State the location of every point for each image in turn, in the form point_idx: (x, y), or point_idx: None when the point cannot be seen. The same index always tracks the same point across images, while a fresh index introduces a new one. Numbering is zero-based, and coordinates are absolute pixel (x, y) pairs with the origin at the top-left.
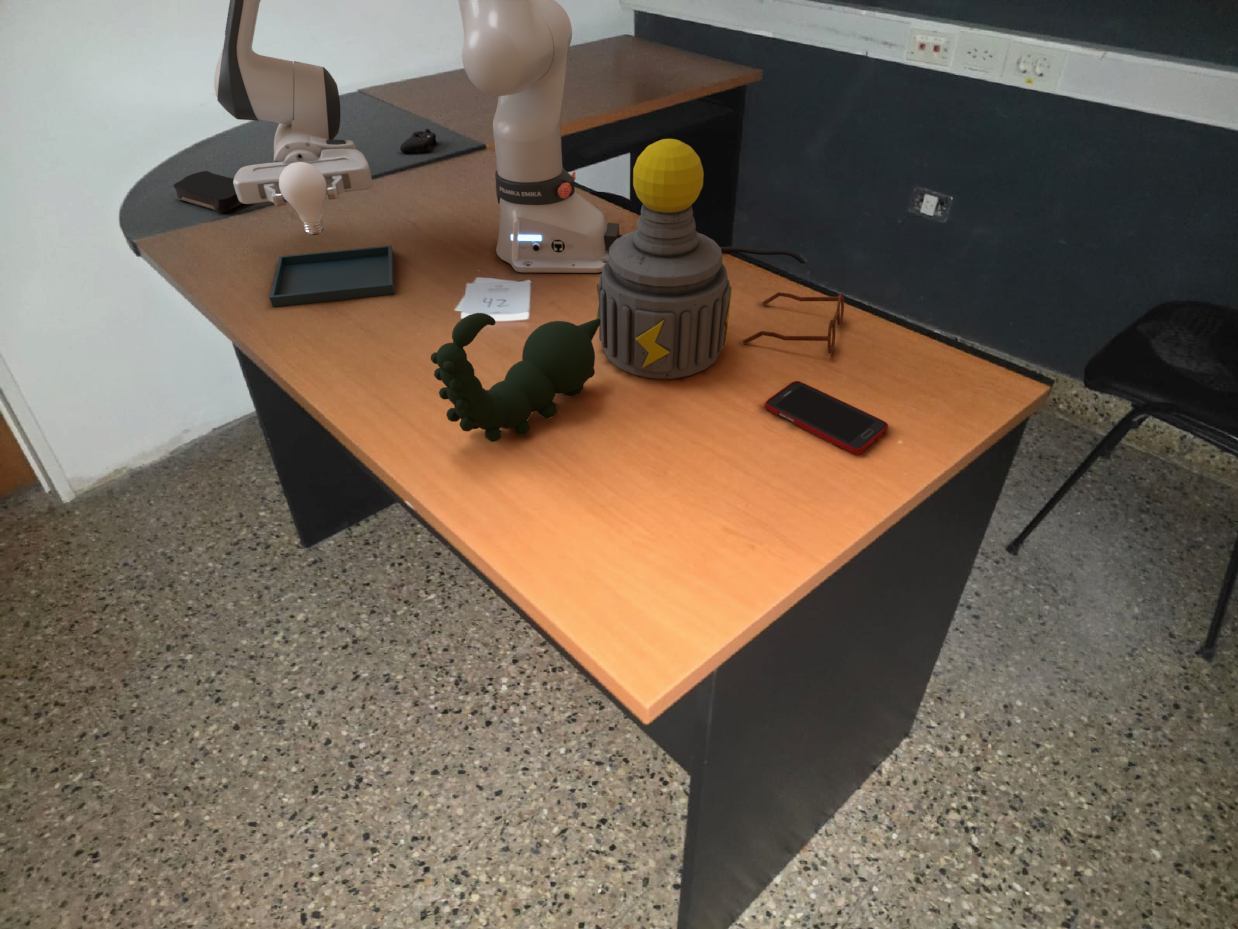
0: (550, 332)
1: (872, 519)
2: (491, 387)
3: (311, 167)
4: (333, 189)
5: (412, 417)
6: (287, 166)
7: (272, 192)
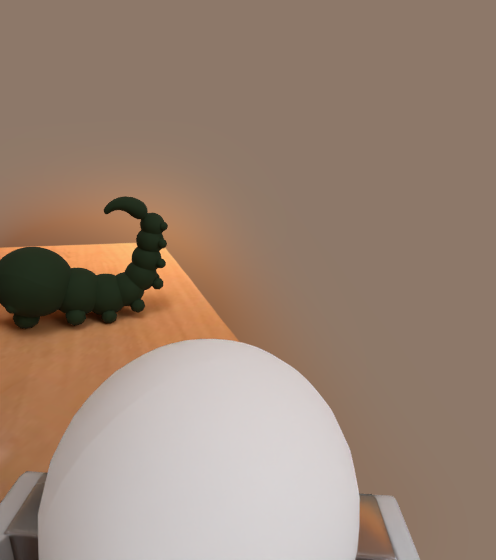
0: (41, 248)
1: (5, 247)
2: (113, 284)
3: (126, 365)
4: (45, 473)
5: (179, 340)
6: (282, 387)
7: (405, 534)
